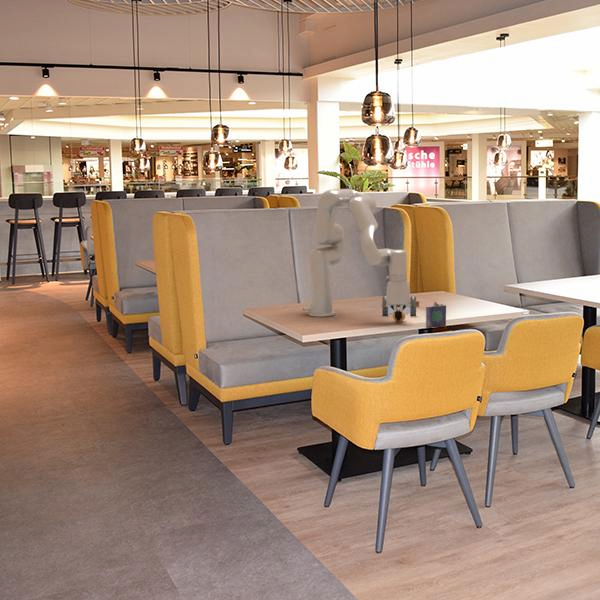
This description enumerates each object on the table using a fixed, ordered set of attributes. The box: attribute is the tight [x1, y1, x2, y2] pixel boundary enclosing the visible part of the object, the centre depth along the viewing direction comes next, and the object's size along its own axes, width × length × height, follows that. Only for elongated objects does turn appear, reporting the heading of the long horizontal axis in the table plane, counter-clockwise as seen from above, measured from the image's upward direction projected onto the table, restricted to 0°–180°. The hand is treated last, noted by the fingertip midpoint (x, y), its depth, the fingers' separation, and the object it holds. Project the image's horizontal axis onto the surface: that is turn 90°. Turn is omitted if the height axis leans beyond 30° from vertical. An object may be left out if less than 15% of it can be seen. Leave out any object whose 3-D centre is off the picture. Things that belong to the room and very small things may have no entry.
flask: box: [425, 300, 447, 328], centre depth 336 cm, size 9×3×11 cm, turn 109°
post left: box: [381, 295, 389, 317], centre depth 364 cm, size 3×3×9 cm
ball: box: [392, 309, 406, 323], centre depth 349 cm, size 6×6×6 cm
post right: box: [409, 296, 417, 317], centre depth 362 cm, size 3×3×9 cm
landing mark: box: [388, 307, 410, 313], centre depth 377 cm, size 14×14×1 cm
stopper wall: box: [397, 300, 420, 308], centre depth 390 cm, size 18×2×2 cm, turn 82°
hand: (398, 320), depth 345 cm, fingers closed
